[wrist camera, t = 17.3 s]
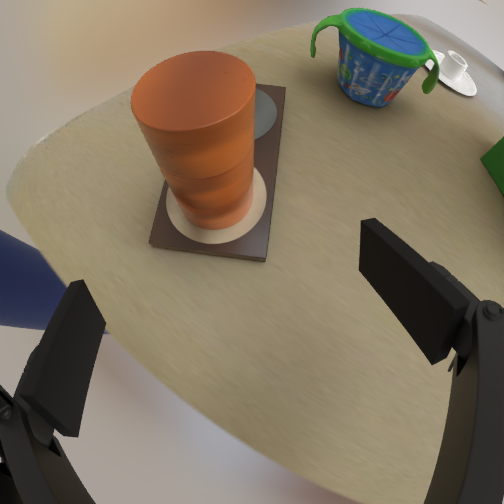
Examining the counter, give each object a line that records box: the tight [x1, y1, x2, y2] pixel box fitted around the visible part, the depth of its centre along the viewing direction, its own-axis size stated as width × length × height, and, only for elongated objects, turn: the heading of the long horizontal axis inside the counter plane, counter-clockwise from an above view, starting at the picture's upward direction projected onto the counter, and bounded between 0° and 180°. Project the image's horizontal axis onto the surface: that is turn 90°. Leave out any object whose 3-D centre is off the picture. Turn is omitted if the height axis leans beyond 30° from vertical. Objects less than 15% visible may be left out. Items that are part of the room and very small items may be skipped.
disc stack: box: [131, 51, 256, 230], centre depth 19 cm, size 6×6×13 cm
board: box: [149, 84, 286, 262], centre depth 27 cm, size 10×20×1 cm, turn 172°
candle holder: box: [425, 49, 477, 96], centre depth 32 cm, size 12×12×4 cm
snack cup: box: [311, 8, 440, 107], centre depth 26 cm, size 16×10×10 cm
